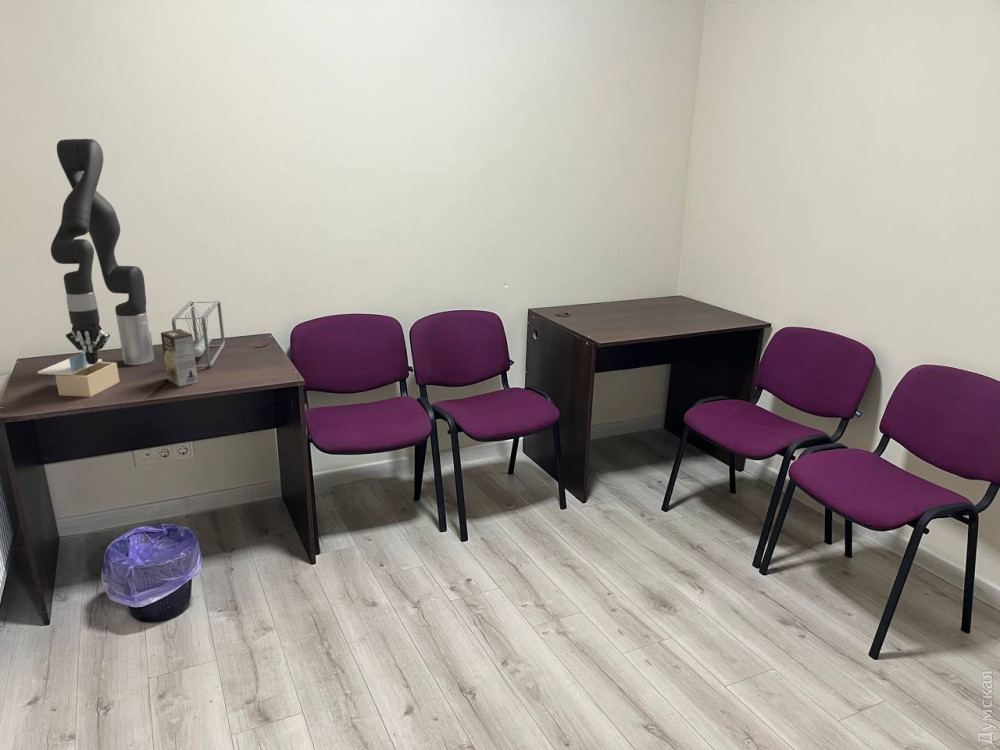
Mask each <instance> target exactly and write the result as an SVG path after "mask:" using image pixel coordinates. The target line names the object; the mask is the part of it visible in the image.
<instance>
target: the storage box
mask: <svg viewBox="0 0 1000 750" xmlns="http://www.w3.org/2000/svg"><path fill="white" fill-rule="evenodd" d="M118 369H119V368H118V363H117V362H109V361H108V362H106V361H101V362H99V363H97V364H95V365H92V366H90V367H88V368H86V369H84V370H81V371H79V372H77V373H75V374H73V375H54V377H55V381H56V382H55V383H56V386H57V387H56V388H57V391H58V396H69V397H88V398H89V397H91V398H92V397H93V396H95V395H97V394H99V393H101V392H103V391H105V390H107V389H108V388H110V387H112V386H114V385H116V384H118V383H120V382H121V381H120V377H119V370H118Z"/></svg>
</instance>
